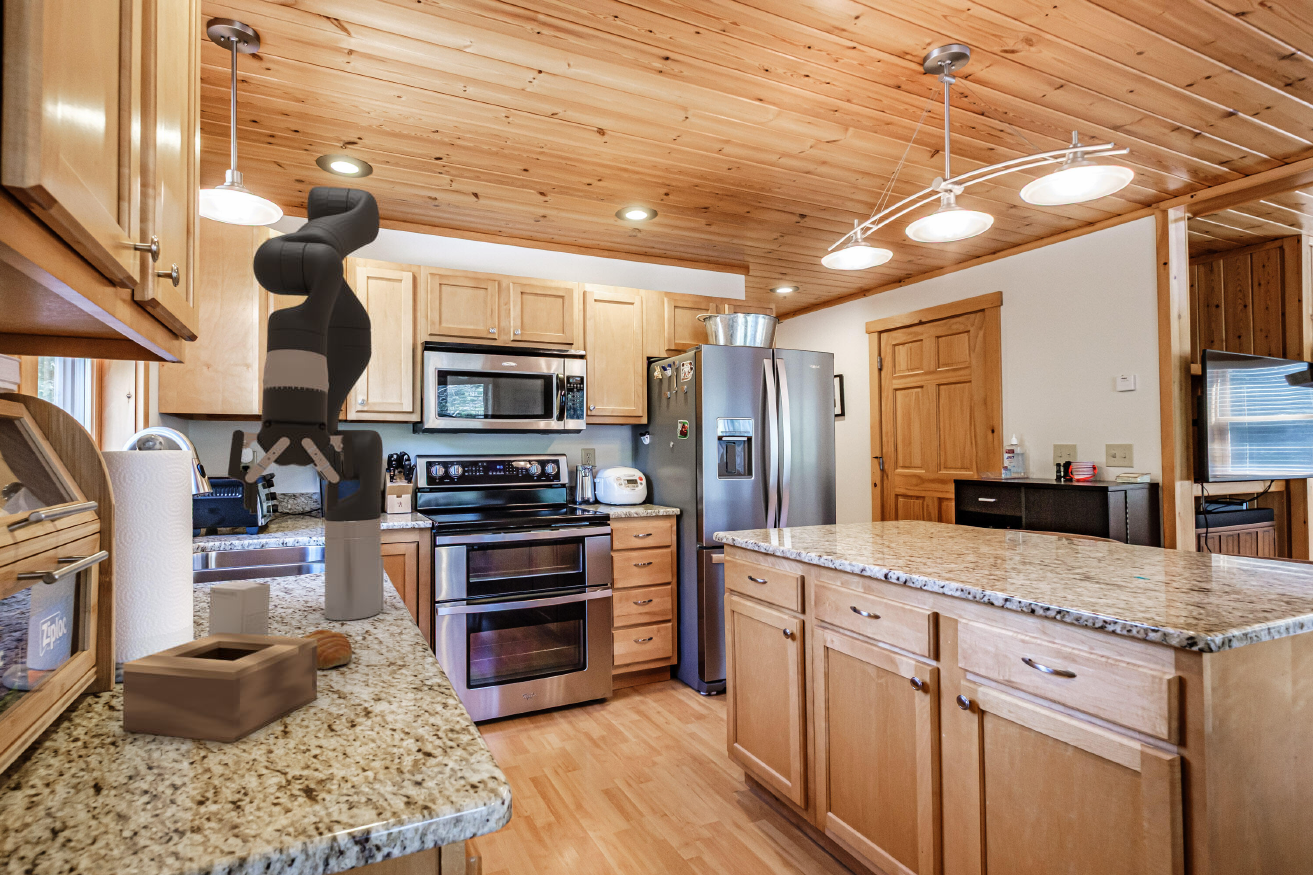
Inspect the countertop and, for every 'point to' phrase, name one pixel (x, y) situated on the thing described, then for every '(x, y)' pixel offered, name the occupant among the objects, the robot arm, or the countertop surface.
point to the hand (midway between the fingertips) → (291, 512)
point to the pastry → (331, 648)
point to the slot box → (219, 686)
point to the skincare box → (239, 608)
